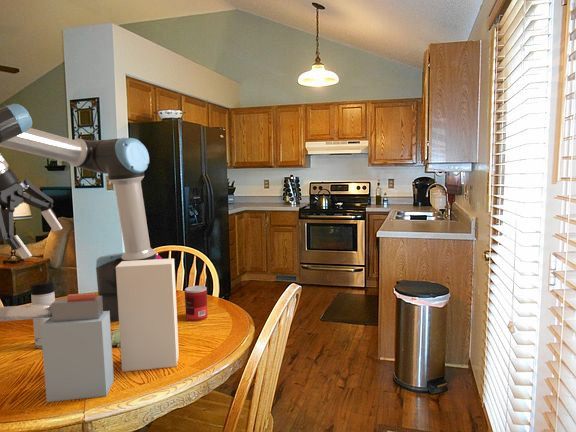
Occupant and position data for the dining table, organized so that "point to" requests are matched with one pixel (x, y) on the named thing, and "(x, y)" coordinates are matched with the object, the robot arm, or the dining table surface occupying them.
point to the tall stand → (147, 314)
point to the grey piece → (58, 309)
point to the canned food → (196, 303)
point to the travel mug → (41, 296)
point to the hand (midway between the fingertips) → (43, 243)
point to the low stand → (77, 358)
